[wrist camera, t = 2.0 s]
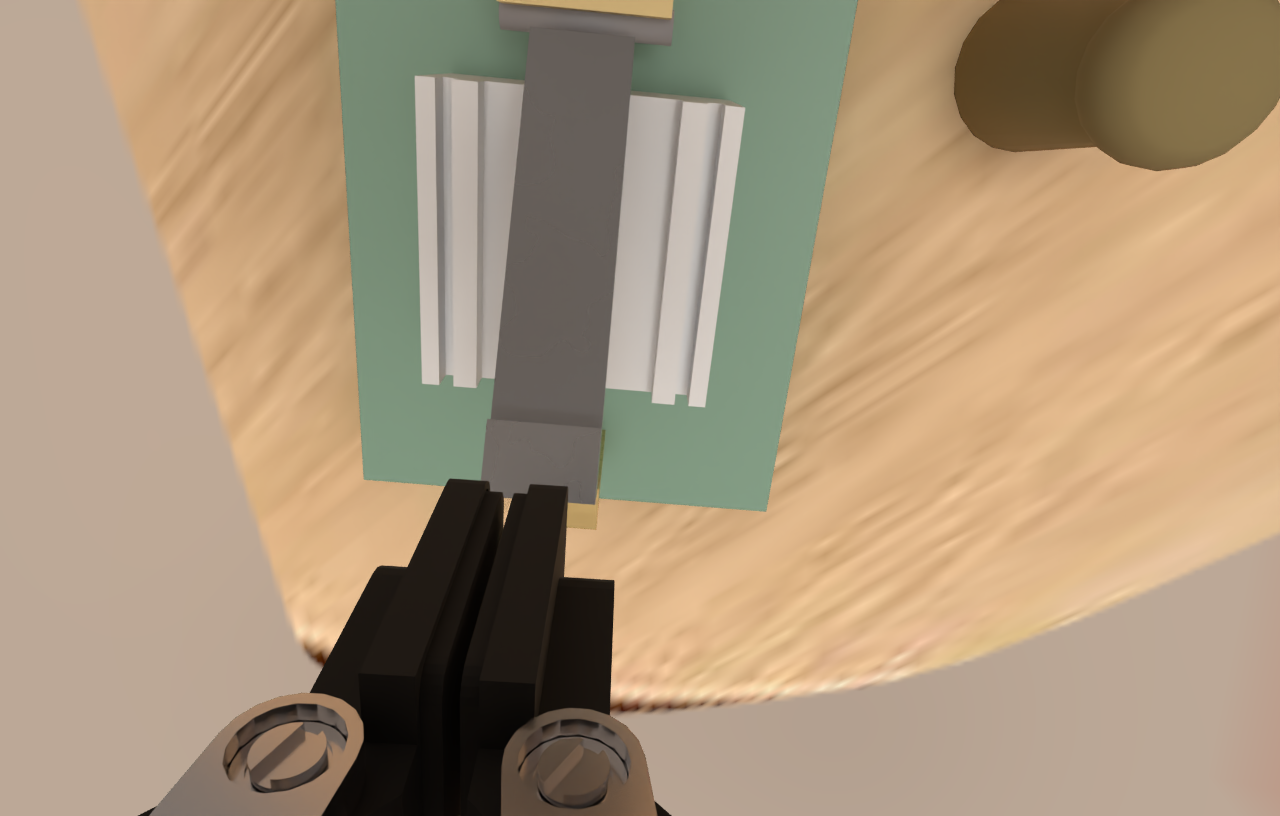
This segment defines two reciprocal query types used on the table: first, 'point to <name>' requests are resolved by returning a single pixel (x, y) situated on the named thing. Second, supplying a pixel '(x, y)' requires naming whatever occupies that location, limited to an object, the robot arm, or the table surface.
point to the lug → (586, 513)
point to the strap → (560, 265)
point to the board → (755, 260)
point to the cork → (1121, 77)
